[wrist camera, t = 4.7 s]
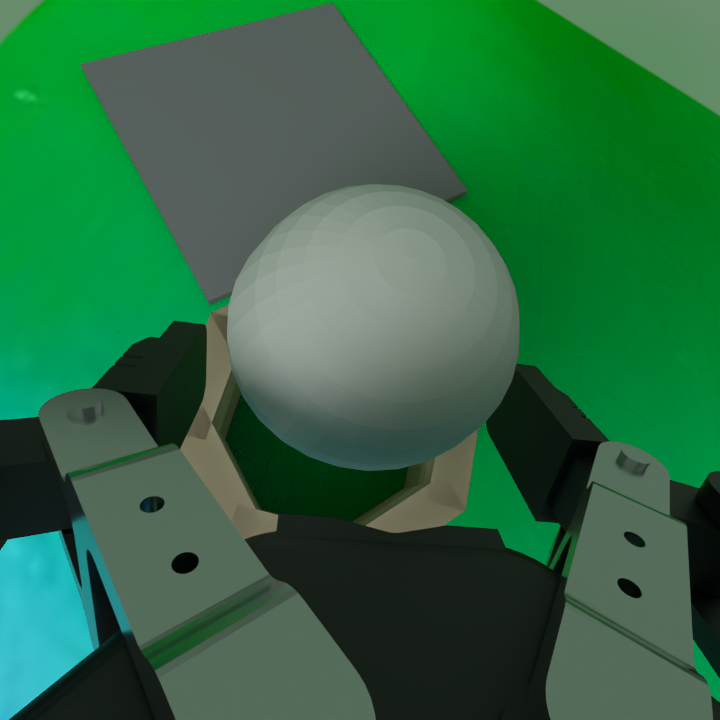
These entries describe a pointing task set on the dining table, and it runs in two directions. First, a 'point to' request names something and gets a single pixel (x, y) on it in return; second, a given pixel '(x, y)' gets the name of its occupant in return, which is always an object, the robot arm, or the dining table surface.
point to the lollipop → (374, 328)
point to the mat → (260, 131)
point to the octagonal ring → (230, 489)
